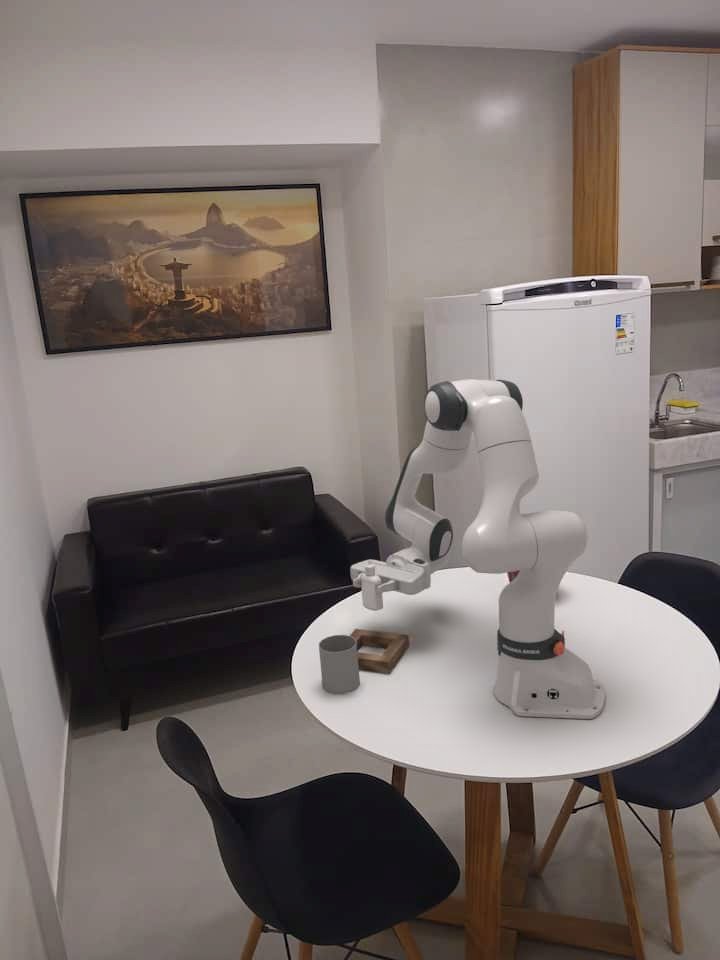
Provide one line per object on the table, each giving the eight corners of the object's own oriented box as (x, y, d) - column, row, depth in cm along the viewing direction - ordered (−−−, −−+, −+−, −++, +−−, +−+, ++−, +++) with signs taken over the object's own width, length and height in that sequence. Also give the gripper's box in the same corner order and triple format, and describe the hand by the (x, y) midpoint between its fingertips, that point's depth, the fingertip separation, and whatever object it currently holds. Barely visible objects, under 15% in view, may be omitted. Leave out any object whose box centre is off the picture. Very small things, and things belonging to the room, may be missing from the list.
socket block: (409, 646, 178) (408, 634, 177) (389, 674, 165) (388, 662, 164) (356, 639, 183) (355, 628, 182) (333, 666, 170) (332, 654, 170)
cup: (361, 674, 166) (358, 634, 163) (358, 693, 158) (354, 651, 155) (325, 675, 167) (321, 635, 164) (319, 694, 159) (315, 652, 156)
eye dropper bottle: (366, 612, 172) (362, 565, 169) (362, 604, 177) (358, 557, 175) (384, 610, 173) (380, 562, 170) (379, 601, 178) (376, 555, 175)
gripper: (370, 550, 188) (333, 566, 179) (434, 564, 175) (397, 583, 165) (372, 573, 190) (335, 590, 180) (435, 588, 176) (399, 608, 167)
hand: (366, 587), depth 172 cm, fingers closed on eye dropper bottle, 6 cm apart
